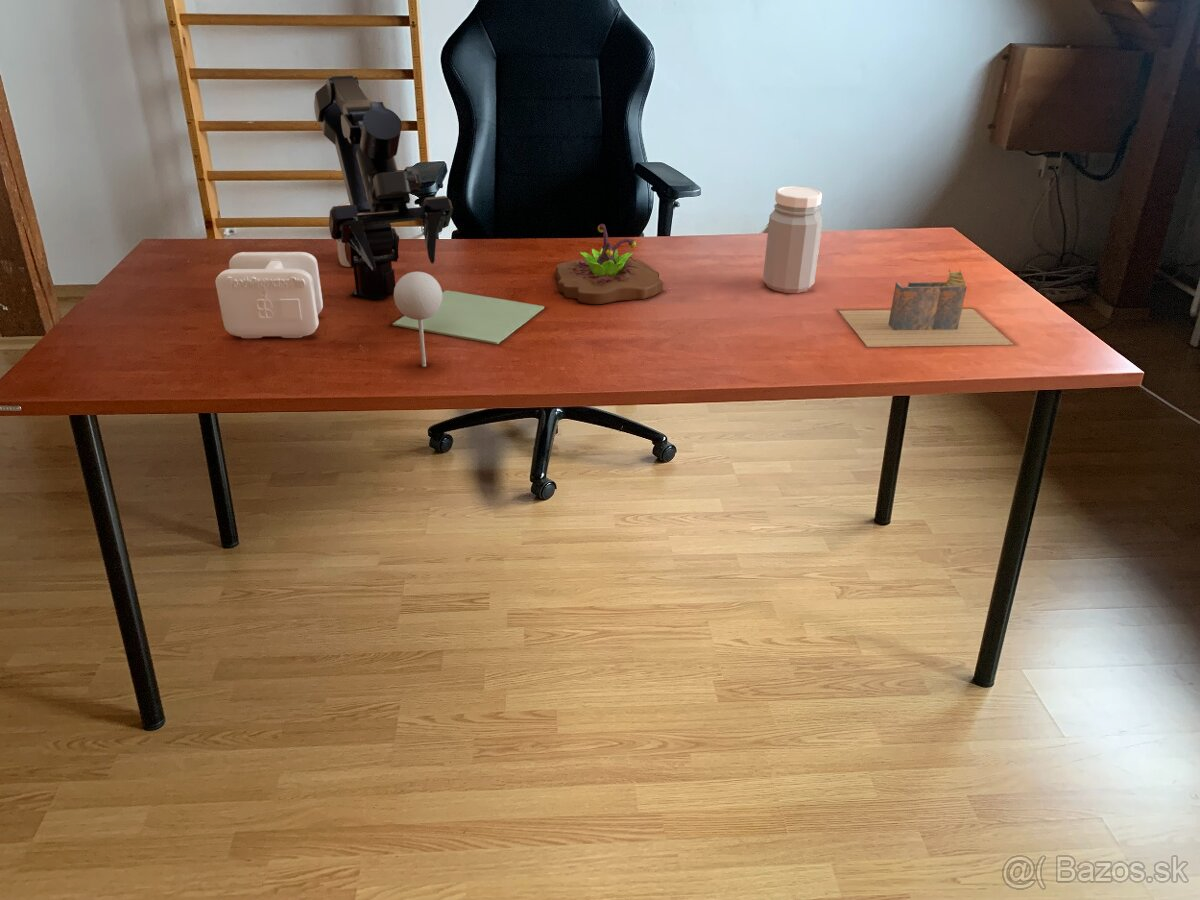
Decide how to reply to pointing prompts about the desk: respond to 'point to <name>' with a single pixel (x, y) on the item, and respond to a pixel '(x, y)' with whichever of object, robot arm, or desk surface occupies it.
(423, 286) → the lollipop
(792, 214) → the jar
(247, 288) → the cable organizer
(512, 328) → the desk mat
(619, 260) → the plant
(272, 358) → the desk surface
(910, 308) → the ruin model on sheet
